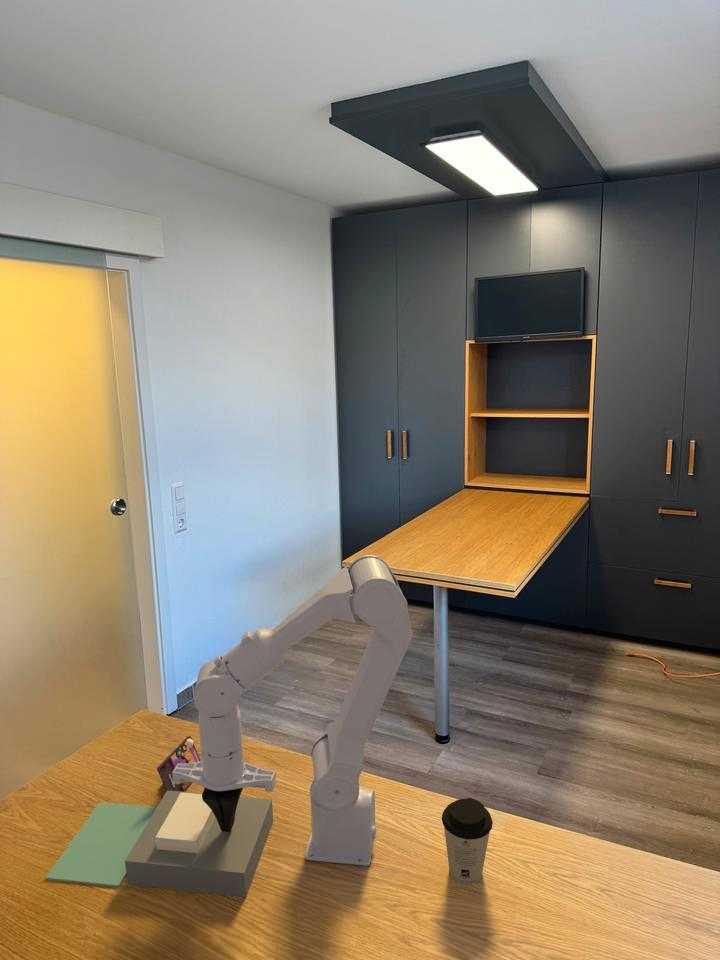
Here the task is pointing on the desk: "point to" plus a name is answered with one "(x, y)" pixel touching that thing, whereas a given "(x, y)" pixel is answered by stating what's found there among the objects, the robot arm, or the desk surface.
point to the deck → (203, 852)
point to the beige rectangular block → (185, 824)
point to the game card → (169, 765)
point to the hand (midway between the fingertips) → (227, 826)
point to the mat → (102, 845)
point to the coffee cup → (466, 838)
